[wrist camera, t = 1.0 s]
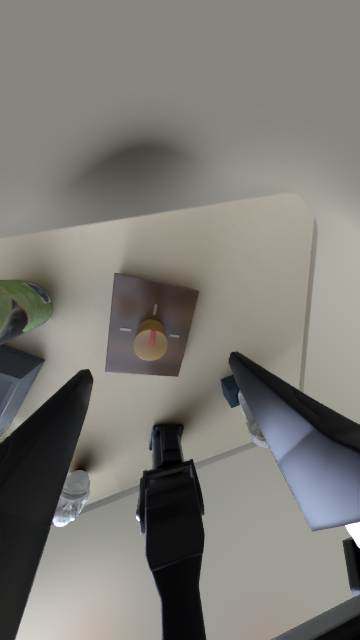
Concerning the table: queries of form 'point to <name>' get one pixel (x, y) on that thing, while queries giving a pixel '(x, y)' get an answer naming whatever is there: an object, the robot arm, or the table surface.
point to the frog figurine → (72, 497)
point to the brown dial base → (142, 304)
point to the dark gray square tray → (15, 381)
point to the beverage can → (22, 308)
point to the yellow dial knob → (150, 340)
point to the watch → (235, 399)
